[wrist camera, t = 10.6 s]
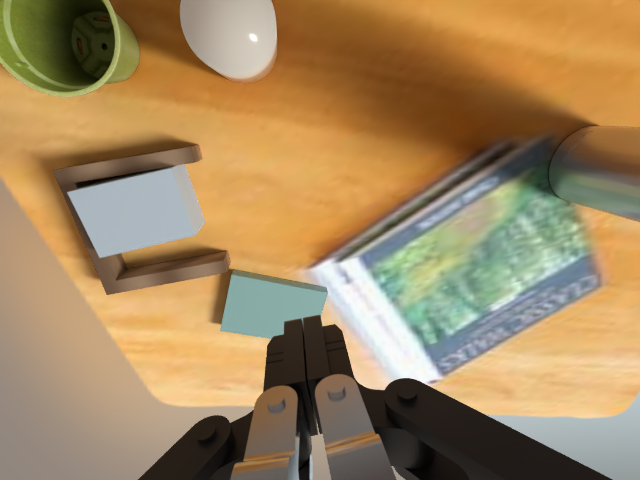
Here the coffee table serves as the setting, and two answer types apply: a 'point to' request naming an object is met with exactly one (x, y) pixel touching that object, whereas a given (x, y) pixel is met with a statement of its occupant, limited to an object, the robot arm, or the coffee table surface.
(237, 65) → the white capsule shape
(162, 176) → the carton
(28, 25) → the plant pot
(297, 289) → the green flat block
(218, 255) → the display bay
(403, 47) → the coffee table surface
